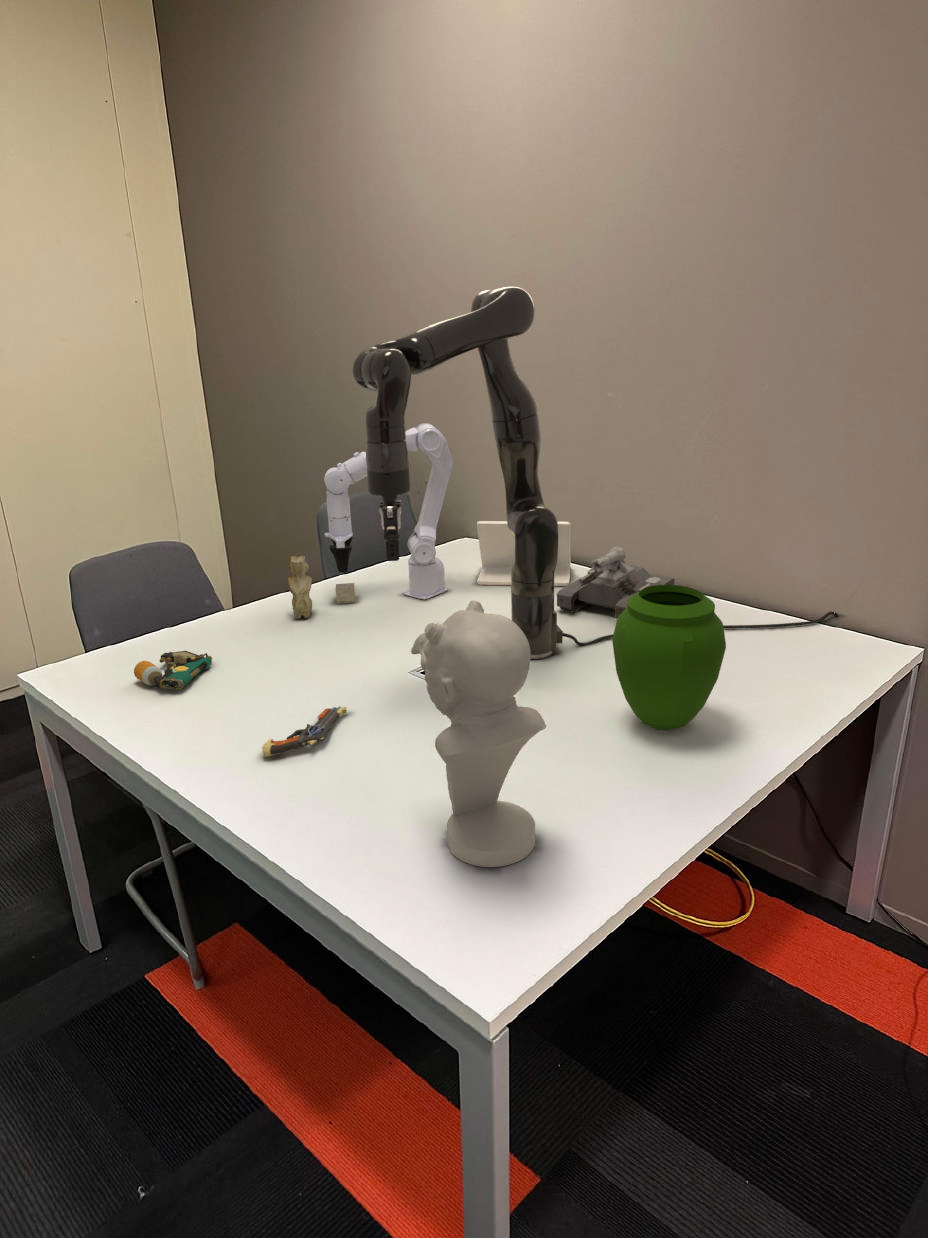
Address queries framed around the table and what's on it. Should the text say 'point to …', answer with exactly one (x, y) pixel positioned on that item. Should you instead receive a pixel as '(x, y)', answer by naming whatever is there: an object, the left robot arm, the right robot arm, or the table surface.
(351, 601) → the brick
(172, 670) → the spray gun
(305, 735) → the toy gun
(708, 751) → the table surface
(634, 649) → the vase
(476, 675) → the bust sculpture
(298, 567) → the sculpture
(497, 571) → the tablet stand
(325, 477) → the left robot arm
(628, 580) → the toy
